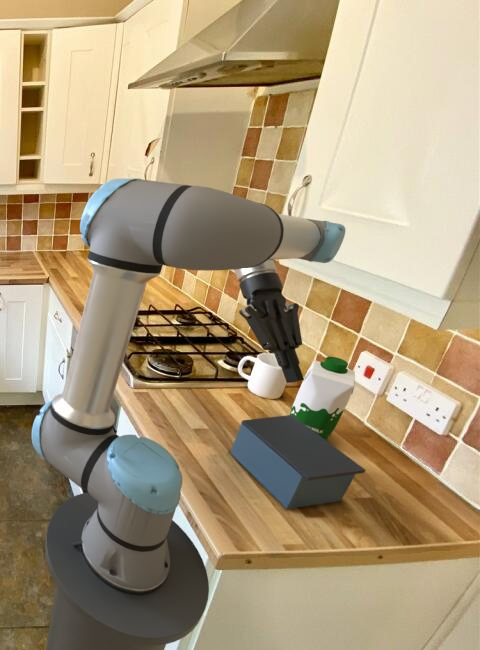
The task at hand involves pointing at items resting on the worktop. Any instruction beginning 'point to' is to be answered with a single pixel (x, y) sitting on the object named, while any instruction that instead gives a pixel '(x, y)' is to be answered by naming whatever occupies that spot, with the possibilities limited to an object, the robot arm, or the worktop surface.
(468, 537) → the worktop surface
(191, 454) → the worktop surface
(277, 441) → the lid
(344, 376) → the milk carton
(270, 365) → the cup
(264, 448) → the storage box
